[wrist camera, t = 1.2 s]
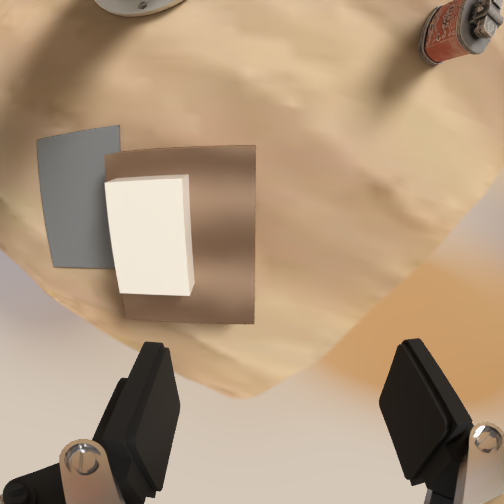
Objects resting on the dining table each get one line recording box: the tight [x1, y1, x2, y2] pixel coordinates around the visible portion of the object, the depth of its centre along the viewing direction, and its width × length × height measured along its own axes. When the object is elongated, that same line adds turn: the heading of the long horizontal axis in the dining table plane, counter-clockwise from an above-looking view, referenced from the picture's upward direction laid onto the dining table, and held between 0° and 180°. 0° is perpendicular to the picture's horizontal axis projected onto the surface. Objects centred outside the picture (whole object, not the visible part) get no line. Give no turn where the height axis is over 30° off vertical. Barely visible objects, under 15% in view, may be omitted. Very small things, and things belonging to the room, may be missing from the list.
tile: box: [105, 174, 195, 296], centre depth 23 cm, size 9×6×2 cm, turn 0°
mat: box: [37, 125, 120, 269], centre depth 27 cm, size 14×10×1 cm
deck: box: [104, 145, 256, 324], centre depth 27 cm, size 15×12×4 cm
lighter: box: [419, 0, 503, 65], centre depth 16 cm, size 8×3×10 cm, turn 155°
